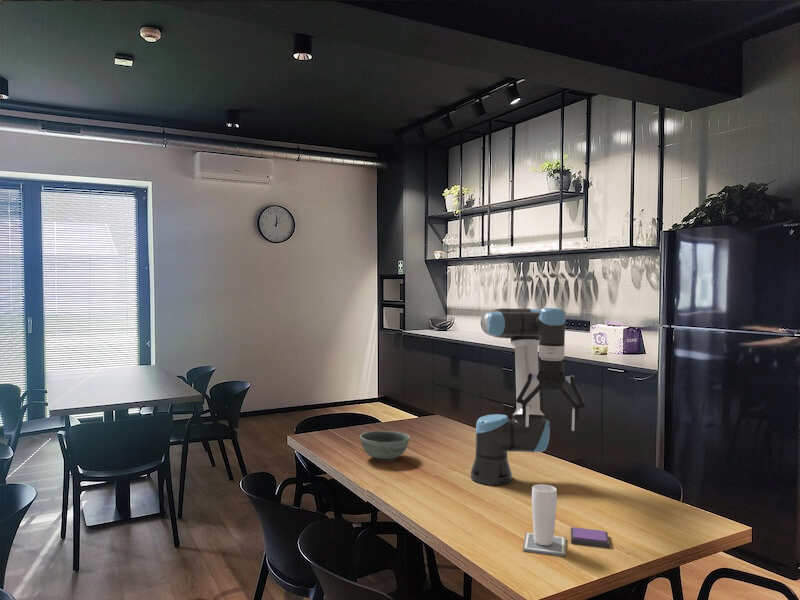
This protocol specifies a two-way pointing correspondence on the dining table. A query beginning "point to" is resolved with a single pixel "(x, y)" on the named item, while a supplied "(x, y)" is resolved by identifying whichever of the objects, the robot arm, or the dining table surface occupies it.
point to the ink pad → (589, 537)
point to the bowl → (384, 444)
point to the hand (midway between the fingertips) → (549, 427)
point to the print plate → (554, 549)
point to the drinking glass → (543, 513)
